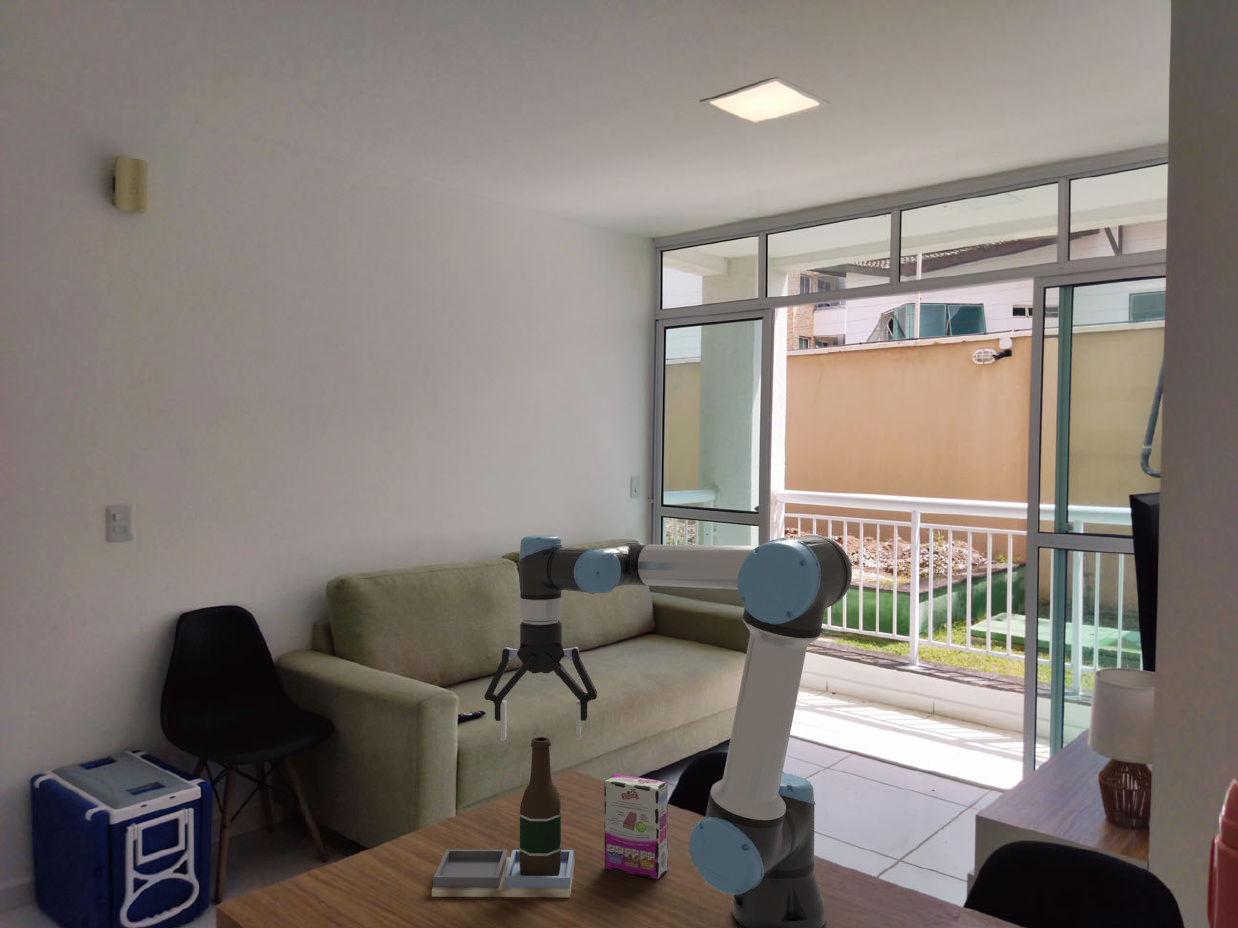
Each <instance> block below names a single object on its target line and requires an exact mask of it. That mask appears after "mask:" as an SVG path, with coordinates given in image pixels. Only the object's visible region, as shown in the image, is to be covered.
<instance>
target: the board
mask: <svg viewBox="0 0 1238 928" xmlns="http://www.w3.org/2000/svg"><path fill="white" fill-rule="evenodd" d="M510 857H511V856H510ZM510 857H509V856H507V862H506V865H505V869H504V872H503V875H502V878H501V882H500V885H499V888H433V887H432V889H431V897H432V898H433V897H435V898H436V897H439V898H442V897H444V898H446V897H447V898H450V897H451V898H455V897H456V898H463V897H465V898H571V893H572V892H571V891H572V885H573V877H574V870H575V869H574V868H575V859H574V860H573V867H572V875H571V882H570V888H504V877H505V874H506V870H507V867H508V864H509V860H510Z"/></svg>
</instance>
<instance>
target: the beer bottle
mask: <svg viewBox="0 0 1238 928" xmlns="http://www.w3.org/2000/svg"><path fill="white" fill-rule="evenodd" d="M551 745H552V743H551V740H550V738H548V737H544V736H537V737H534V738H532V739H531V743H530V747H531V749H532V750H531V763H530V764H531V766H530V778H529V783H528V784H527V786H526V788H525V789H524V791H523V792H524V793H523V796H522V799H521V802H520V806H519V850H520V874H521V876H558V875H559V872H560V867H561V850H562V801H561V800H562V799H561V796H560V793H559V790H558V789H557V787H556V785H555V784H554V783H553V779H552V772H551V756H550V754H551V753H550V747H551Z"/></svg>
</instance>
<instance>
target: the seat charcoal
mask: <svg viewBox="0 0 1238 928" xmlns="http://www.w3.org/2000/svg"><path fill="white" fill-rule="evenodd" d="M507 857H508V849H468V848H467V849H462V848H461V849H458V848H457V849H453V848H452V849H451V848H449V849H448V848H447V849H445V852H444V854H443V856H442V858H441V861H440V862H439V864H438V866H437V868H436V871H435V872H434V874H433V881H432V883H433V884H432V885H433V887H432V888H499V885H500V882H501V878H502V875H503V872H504V869H505V865H506V862H507Z"/></svg>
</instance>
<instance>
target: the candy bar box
mask: <svg viewBox="0 0 1238 928" xmlns="http://www.w3.org/2000/svg"><path fill="white" fill-rule="evenodd" d="M603 783H604V784H603V785H604V787H603V788H604V790H603V791H604V792H603V793H604V868H605V869H607V870H611V871H616V872H621V873H624V874H629V875H635V876H638V877H639V876H640V877H644V878H649V879H654V880H659V879H660V878H661V877H662V876H663V875H664V874H666V872H667V871H668V869H669V856H668V855H669V854H668V853H669V851H668V849H669V846H668V845H669V841H668V837H669V835H668V834H669V833H668V832H669V831H668V830H669V829H668V824H669V823H668V817H669V816H668V805H669V803H668V798H669V797H668V781H664V780H658V779H652V778H646V777H645V778H644V777H639V776H631V775H624V774H618V773H614V774H613V775H611V776H610V777H609V778H607V779H605V780H604V782H603Z"/></svg>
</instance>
